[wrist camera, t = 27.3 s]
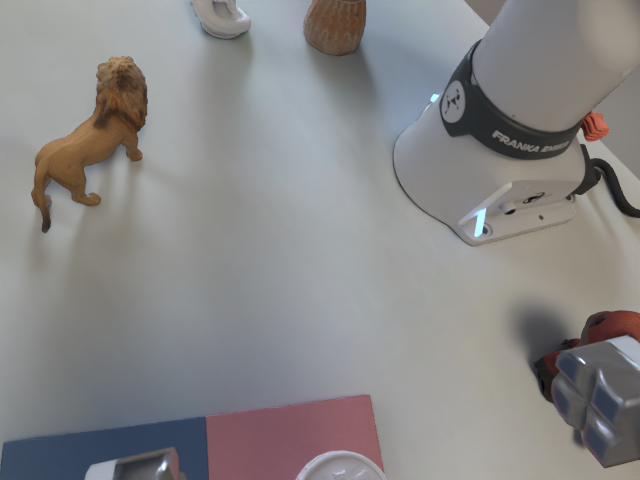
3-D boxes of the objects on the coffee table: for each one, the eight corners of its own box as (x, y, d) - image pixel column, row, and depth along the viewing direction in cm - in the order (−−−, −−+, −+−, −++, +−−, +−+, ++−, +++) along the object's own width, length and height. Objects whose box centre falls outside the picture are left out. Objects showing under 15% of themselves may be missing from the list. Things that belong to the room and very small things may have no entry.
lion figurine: (116, 107, 48) (102, 34, 40) (165, 130, 48) (161, 62, 40) (18, 223, 40) (-23, 161, 32) (76, 249, 41) (50, 195, 33)
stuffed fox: (560, 465, 43) (681, 461, 32) (510, 342, 47) (602, 303, 36) (622, 443, 45) (753, 432, 35) (569, 328, 49) (672, 287, 39)
